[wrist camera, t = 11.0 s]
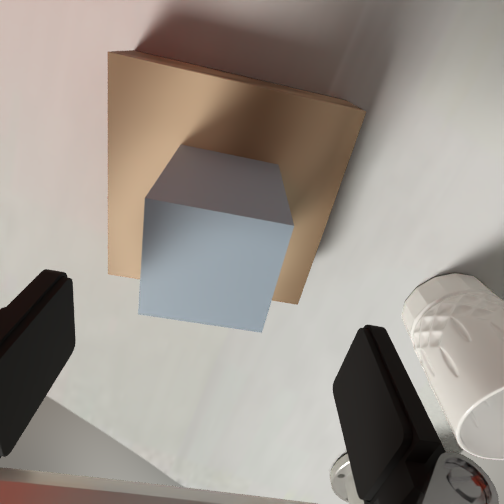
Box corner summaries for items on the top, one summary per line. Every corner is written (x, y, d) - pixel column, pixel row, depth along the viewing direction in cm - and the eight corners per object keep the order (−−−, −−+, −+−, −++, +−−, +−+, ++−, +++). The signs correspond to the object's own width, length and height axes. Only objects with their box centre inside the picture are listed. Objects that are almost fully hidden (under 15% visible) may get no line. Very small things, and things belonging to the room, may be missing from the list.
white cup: (477, 340, 30) (569, 458, 21) (386, 343, 30) (441, 462, 21) (508, 263, 26) (638, 372, 17) (403, 267, 26) (479, 377, 17)
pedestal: (345, 100, 20) (366, 112, 17) (291, 270, 26) (297, 304, 23) (133, 50, 19) (107, 51, 15) (127, 242, 25) (108, 274, 21)
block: (278, 164, 18) (294, 225, 12) (257, 247, 20) (261, 332, 14) (180, 144, 17) (144, 198, 11) (171, 232, 20) (138, 314, 14)
